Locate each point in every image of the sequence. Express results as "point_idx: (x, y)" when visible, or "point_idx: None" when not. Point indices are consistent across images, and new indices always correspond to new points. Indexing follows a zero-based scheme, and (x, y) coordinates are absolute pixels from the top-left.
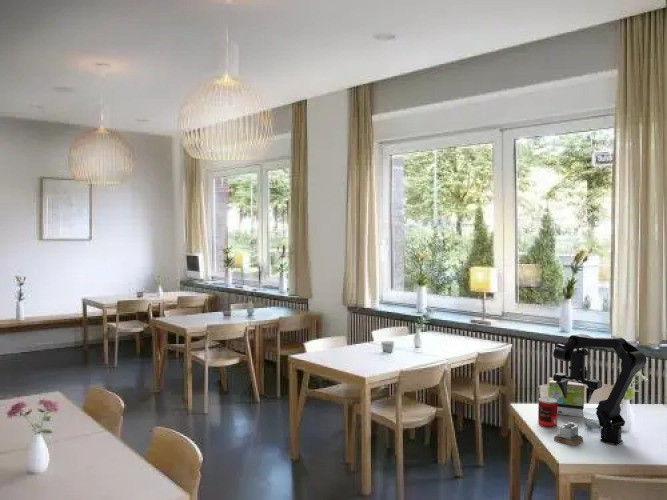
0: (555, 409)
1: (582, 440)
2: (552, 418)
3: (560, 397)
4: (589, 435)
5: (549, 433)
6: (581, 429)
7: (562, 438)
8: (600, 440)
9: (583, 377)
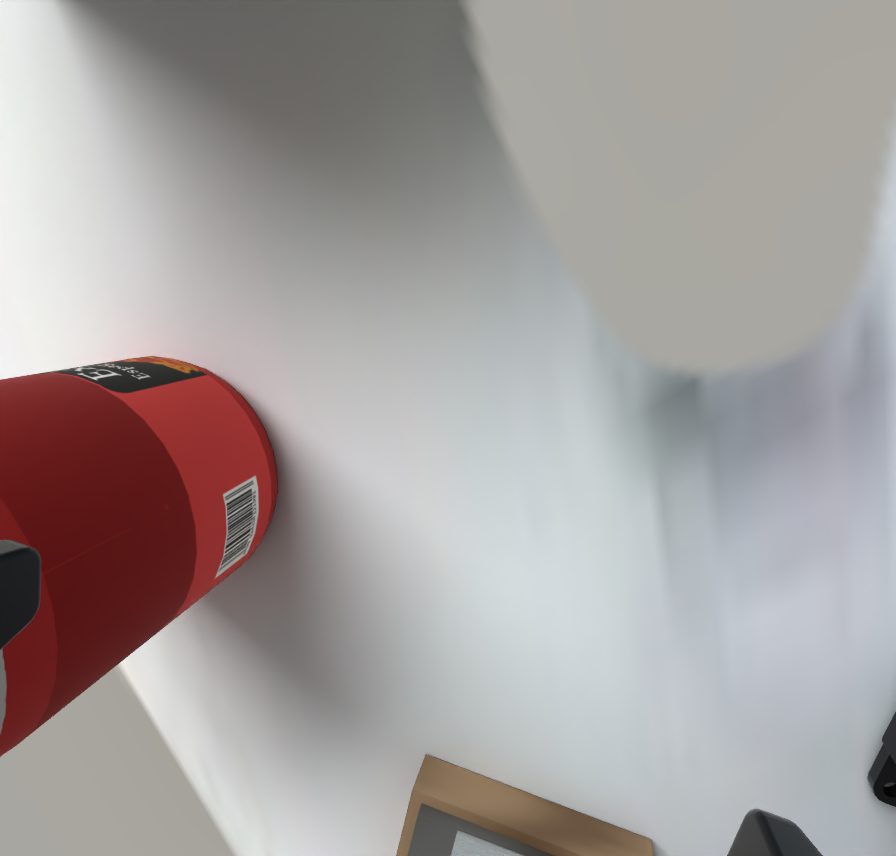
0: (111, 642)
1: (649, 852)
2: (188, 604)
3: None
4: (707, 616)
5: (292, 740)
6: (575, 424)
7: None
8: (873, 790)
9: None
